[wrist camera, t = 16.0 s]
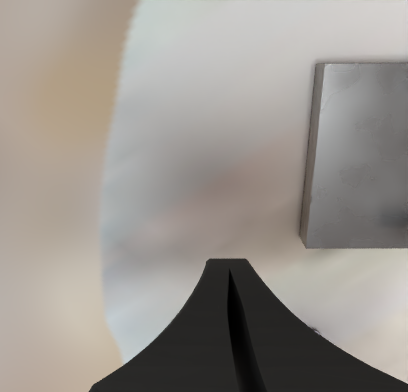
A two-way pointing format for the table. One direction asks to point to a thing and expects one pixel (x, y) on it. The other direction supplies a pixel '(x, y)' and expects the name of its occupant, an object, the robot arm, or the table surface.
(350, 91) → the base
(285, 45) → the table surface
